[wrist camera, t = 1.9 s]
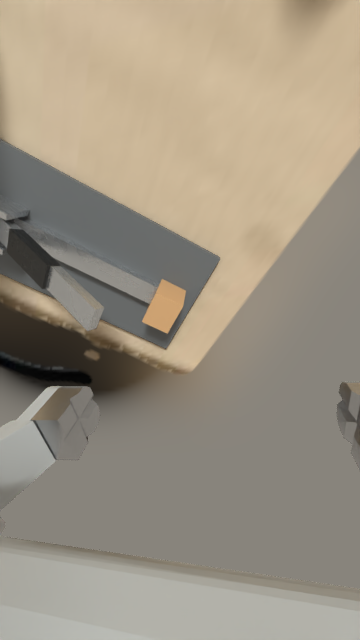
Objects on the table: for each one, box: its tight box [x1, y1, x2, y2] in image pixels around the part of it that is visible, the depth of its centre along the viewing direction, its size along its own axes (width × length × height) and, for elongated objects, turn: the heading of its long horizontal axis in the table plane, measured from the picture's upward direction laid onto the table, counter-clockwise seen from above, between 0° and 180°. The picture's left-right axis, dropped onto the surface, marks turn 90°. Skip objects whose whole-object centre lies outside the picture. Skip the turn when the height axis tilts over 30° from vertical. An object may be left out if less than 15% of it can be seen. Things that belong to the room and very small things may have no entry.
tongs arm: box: [0, 218, 104, 331], centre depth 30 cm, size 21×3×2 cm, turn 64°
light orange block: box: [142, 279, 186, 334], centre depth 36 cm, size 4×5×5 cm
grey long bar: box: [0, 195, 159, 304], centre depth 34 cm, size 30×6×4 cm, turn 63°
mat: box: [0, 139, 220, 349], centre depth 37 cm, size 32×18×1 cm, turn 63°
